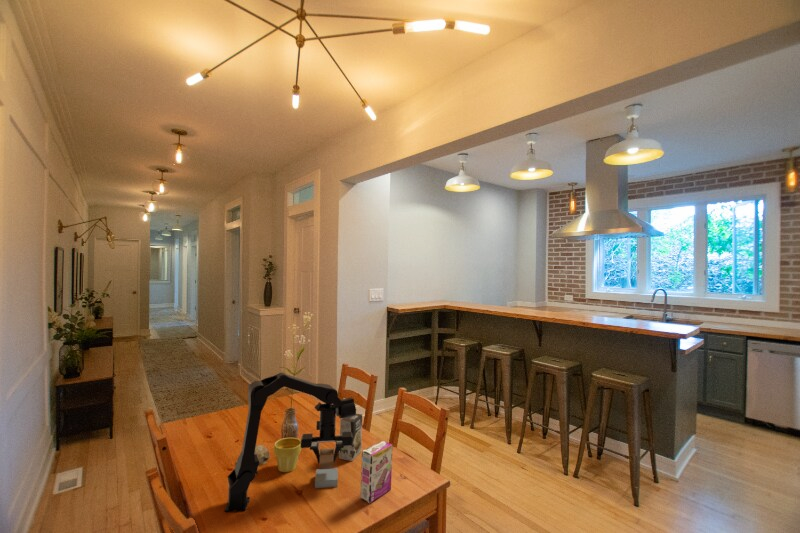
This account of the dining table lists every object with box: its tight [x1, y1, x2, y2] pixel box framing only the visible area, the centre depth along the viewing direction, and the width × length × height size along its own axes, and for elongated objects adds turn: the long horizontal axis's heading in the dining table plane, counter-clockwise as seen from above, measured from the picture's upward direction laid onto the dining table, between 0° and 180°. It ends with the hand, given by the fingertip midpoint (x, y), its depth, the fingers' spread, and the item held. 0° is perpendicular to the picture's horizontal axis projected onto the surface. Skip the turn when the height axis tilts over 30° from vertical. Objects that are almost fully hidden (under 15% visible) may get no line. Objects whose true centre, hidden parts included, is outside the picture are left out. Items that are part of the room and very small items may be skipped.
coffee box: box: [338, 413, 363, 462], centre depth 157 cm, size 9×6×16 cm
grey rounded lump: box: [254, 444, 270, 467], centre depth 151 cm, size 10×10×8 cm
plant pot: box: [273, 437, 302, 473], centre depth 146 cm, size 10×10×10 cm
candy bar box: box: [360, 440, 393, 505], centre depth 130 cm, size 11×5×16 cm, turn 141°
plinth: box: [314, 467, 339, 489], centre depth 137 cm, size 8×8×2 cm
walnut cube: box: [318, 447, 335, 470], centre depth 137 cm, size 5×5×5 cm
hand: (326, 462), depth 137 cm, fingers closed on walnut cube, 5 cm apart
